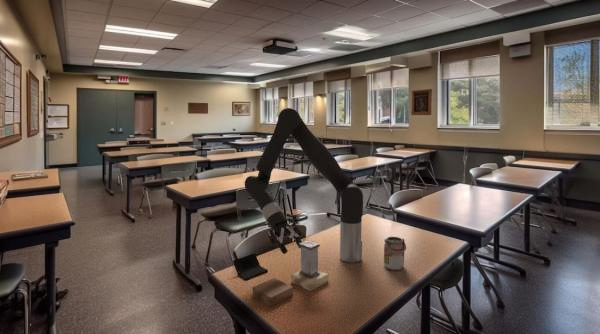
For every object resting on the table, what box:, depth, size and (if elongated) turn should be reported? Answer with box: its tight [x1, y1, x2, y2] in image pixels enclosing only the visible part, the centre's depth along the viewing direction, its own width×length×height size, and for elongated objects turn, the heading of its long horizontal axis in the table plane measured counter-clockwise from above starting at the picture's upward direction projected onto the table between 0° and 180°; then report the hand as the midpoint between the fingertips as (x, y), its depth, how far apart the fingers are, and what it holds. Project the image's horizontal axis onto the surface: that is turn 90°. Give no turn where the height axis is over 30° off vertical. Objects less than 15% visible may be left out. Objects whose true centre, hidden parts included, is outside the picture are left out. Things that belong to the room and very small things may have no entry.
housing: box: [298, 240, 321, 279], centre depth 126 cm, size 6×5×12 cm
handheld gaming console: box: [232, 253, 268, 281], centre depth 135 cm, size 12×7×10 cm
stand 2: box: [290, 269, 330, 292], centre depth 127 cm, size 10×10×3 cm
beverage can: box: [383, 236, 407, 271], centre depth 138 cm, size 9×8×12 cm
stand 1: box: [252, 277, 294, 307], centre depth 117 cm, size 10×10×3 cm
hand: (293, 249), depth 131 cm, fingers open, 8 cm apart
